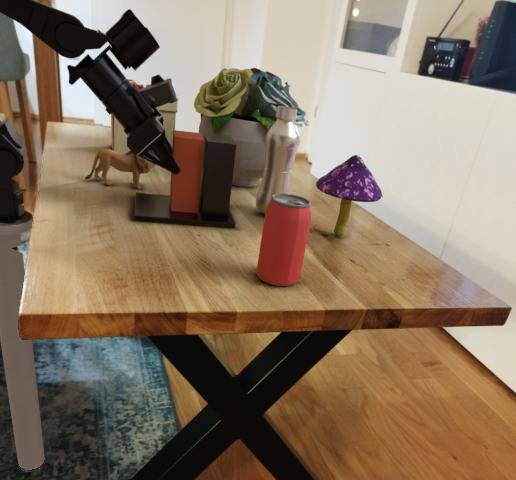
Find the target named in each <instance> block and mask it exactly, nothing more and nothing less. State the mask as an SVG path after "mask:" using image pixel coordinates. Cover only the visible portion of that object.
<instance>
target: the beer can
mask: <svg viewBox="0 0 516 480" xmlns="http://www.w3.org/2000/svg"><path fill="white" fill-rule="evenodd" d="M311 205H312V202H311V201H310V200H309V199H307V198H305V197H304V196H301V195H296V194H293V193H289V194H274V195H273V196H272V197H271V201H270V203H269V204H268V206H267V209H266V212H265V214H264V220H263V226H262V231H261V239H260V245H259V253H258V258H257V259H258V260H257V265H256V271H255V273H256V275H257V277H258V278H259V279H260V281H262V282H264V283H266V284H269V285H271V286H275V287H276V286H277V287H291V286H294V285H295V284H297V283H298V282H299V281H300V278H301V274H302V268H303V263H304V260H305V254H306V248H307V244H308V238H309V234H310V229H311V224H312V210H311Z"/></svg>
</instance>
